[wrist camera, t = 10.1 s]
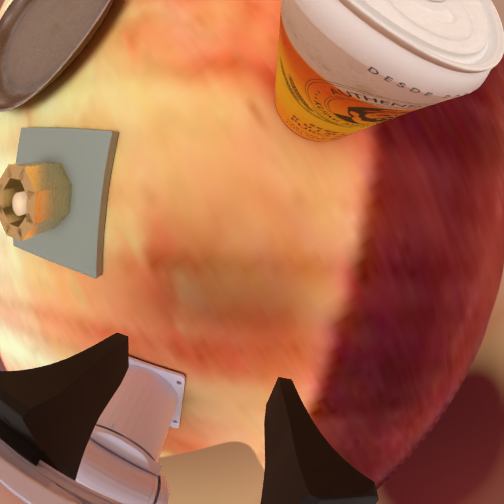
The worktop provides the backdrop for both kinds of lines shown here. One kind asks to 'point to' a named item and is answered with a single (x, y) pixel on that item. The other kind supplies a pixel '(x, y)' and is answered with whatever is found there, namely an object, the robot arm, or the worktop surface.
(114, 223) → the worktop surface
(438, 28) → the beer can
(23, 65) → the plant saucer
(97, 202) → the post plate
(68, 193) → the collar
